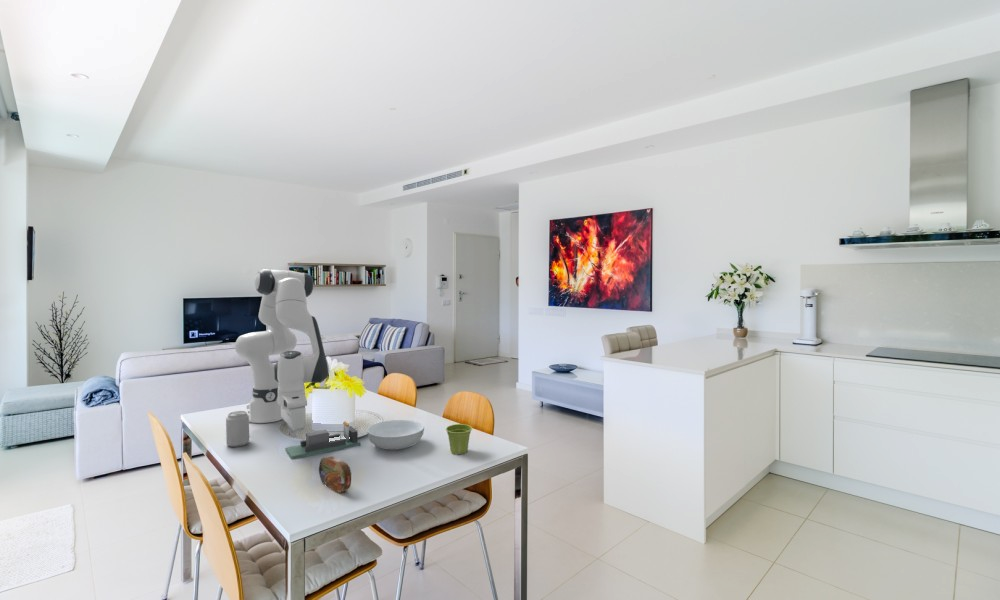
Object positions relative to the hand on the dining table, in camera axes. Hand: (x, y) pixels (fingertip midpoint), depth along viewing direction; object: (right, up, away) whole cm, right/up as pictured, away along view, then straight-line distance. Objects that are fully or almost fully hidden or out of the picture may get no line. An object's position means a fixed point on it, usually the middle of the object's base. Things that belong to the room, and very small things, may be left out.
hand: (292, 436), depth 163 cm
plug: (+7, -5, +6) cm, 10 cm away
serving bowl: (+34, -7, +10) cm, 36 cm away
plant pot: (+59, -7, +4) cm, 59 cm away
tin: (+24, -8, -25) cm, 36 cm away
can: (-25, -6, +10) cm, 28 cm away
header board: (+8, -6, +7) cm, 12 cm away
